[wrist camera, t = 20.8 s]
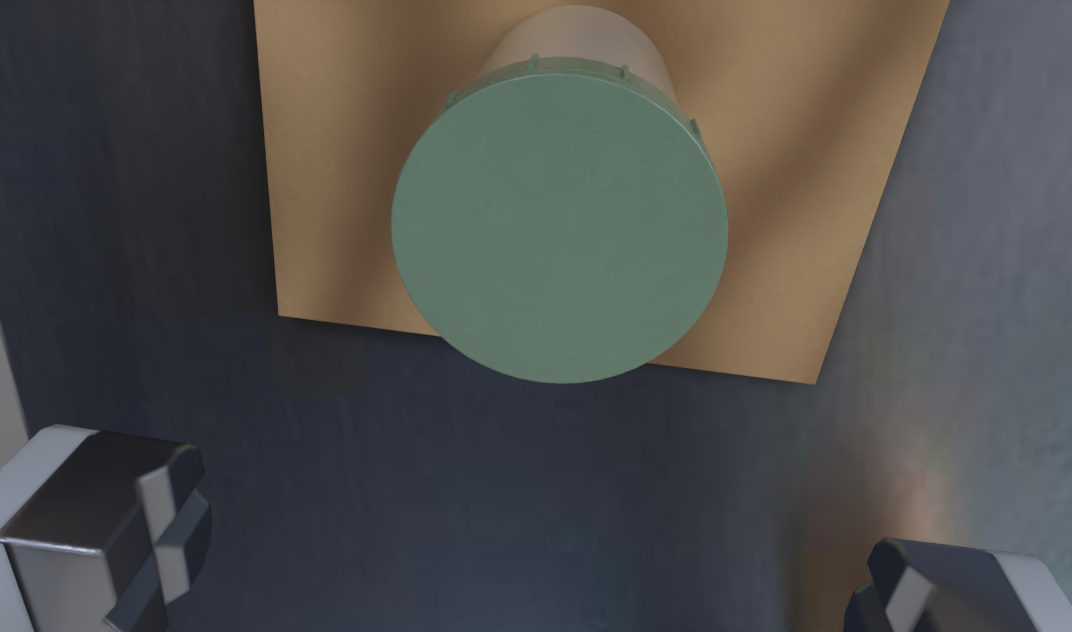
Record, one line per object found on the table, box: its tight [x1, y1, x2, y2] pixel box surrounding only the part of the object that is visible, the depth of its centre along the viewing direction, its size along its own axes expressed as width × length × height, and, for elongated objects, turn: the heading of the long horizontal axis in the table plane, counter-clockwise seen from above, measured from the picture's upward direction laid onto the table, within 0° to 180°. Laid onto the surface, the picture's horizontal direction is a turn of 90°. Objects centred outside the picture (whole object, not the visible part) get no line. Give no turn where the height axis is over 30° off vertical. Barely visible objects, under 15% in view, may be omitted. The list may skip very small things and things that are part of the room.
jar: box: [474, 5, 679, 106], centre depth 19 cm, size 6×6×10 cm
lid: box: [391, 54, 729, 384], centre depth 15 cm, size 6×7×2 cm
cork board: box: [254, 0, 950, 384], centre depth 24 cm, size 20×18×1 cm
